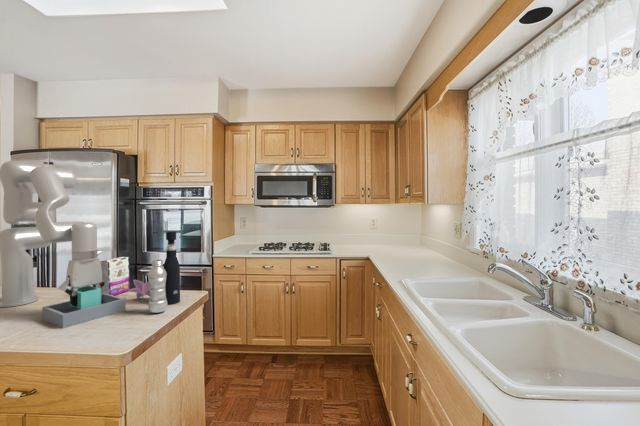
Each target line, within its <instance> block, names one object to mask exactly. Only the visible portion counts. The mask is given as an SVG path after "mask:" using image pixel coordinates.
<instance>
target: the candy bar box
mask: <svg viewBox="0 0 640 426" xmlns="http://www.w3.org/2000/svg"><path fill="white" fill-rule="evenodd" d="M129 258H130V257H129V256H119V257H118V256H117V257H114V258H110V259H104V260H101V261H100V263H101V268H102V274H103V275H105V276H106V277H108V278H109V280H108V281H107V282H106V283H105V285H104V286H103V287H102V288H101V294H102V293H106V294H110V295H113V296H118V295H121V294H123V293H127V292H129V291H128V290H130V289H131V288H130V287H131V285H130V283H131V282H130V263H129Z"/></svg>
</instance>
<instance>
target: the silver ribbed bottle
mask: <svg viewBox="0 0 640 426" xmlns="http://www.w3.org/2000/svg"><path fill="white" fill-rule="evenodd" d="M163 267H164V261H163V259H155V260H151V269H150V270H149V271H148V273H147V278H148V281H149V286H150V296H149V298H148V299H149V301H148V305H147V306H148V307H147V308H148V311H149V313H151V314H158V313H159V314H160V313H164V312H165V311H166V310H167V309H168V303H167V299H166V291H165V289H166V288H165V287H166V277H167V273H166V270H165V269H164V268H163Z"/></svg>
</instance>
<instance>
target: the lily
mask: <svg viewBox="0 0 640 426" xmlns="http://www.w3.org/2000/svg"><path fill="white" fill-rule="evenodd" d="M132 282H133V284H134V286H135V287H133V288H130V290H128V291H127V292H130V293H135V294H136V295H135V296H136V298H137V299H140V298H141V300H142V302H141V303H142V304H143V303H144V296H149V297H150V286H149V280H148V281H145V282H144V281H141V280H138V279H133V280H132Z"/></svg>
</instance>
